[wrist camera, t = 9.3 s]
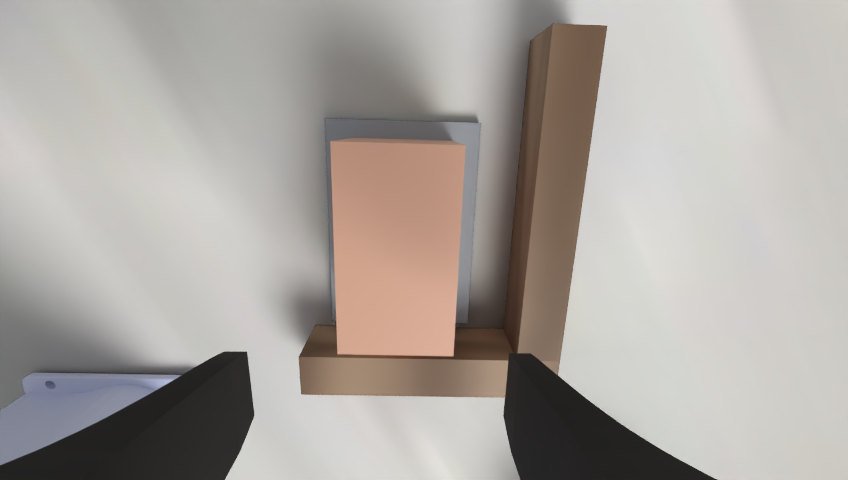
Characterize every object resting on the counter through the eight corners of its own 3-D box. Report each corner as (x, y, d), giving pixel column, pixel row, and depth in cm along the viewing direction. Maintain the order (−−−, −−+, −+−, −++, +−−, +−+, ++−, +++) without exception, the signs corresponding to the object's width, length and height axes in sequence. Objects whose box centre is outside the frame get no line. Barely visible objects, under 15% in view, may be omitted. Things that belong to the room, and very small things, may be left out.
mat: (333, 316, 21) (332, 320, 20) (326, 118, 18) (324, 118, 18) (466, 319, 21) (467, 323, 20) (479, 123, 18) (480, 122, 18)
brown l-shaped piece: (317, 358, 21) (301, 394, 18) (300, 32, 17) (276, 13, 14) (536, 362, 22) (554, 398, 19) (575, 42, 17) (607, 25, 14)
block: (353, 137, 18) (330, 141, 13) (452, 140, 18) (465, 145, 13) (356, 299, 20) (337, 354, 15) (444, 301, 20) (453, 356, 15)
